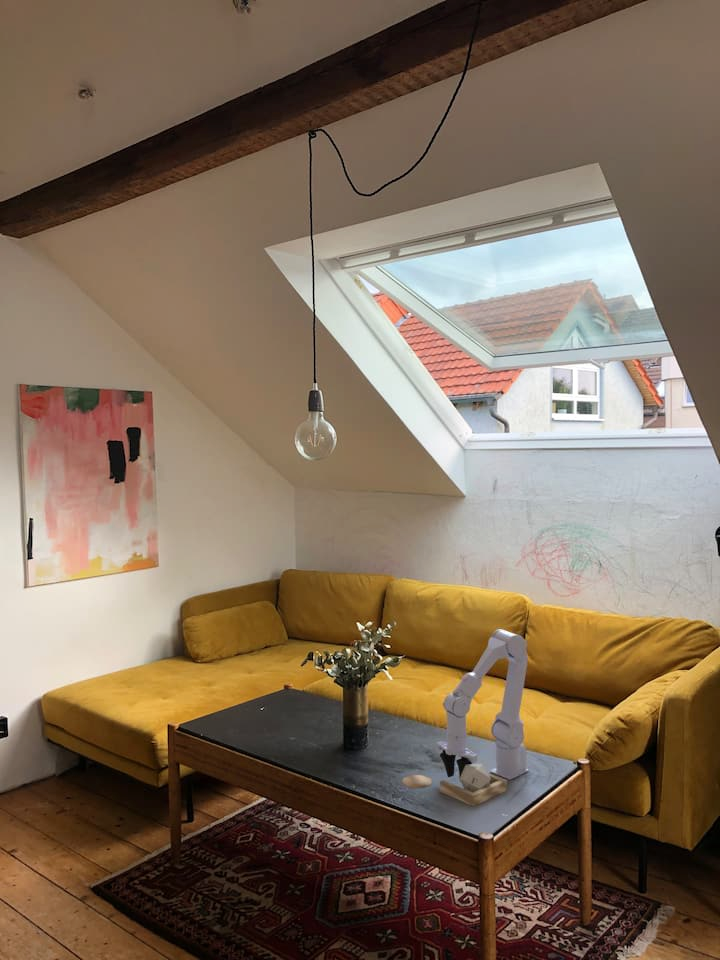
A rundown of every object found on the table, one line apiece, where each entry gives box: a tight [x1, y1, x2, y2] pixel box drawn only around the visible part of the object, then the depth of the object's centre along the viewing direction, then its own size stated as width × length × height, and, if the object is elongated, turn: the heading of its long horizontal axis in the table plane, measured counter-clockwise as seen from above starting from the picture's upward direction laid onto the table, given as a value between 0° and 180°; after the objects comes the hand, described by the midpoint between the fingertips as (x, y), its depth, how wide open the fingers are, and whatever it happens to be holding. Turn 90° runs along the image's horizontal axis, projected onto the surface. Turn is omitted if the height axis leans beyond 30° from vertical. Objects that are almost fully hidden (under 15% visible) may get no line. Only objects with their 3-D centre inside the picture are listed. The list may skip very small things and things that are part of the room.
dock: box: [439, 772, 508, 807], centre depth 230 cm, size 15×13×3 cm
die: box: [458, 763, 491, 792], centre depth 229 cm, size 8×9×10 cm
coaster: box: [401, 774, 433, 789], centre depth 237 cm, size 9×9×1 cm
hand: (456, 778), depth 235 cm, fingers open, 4 cm apart
